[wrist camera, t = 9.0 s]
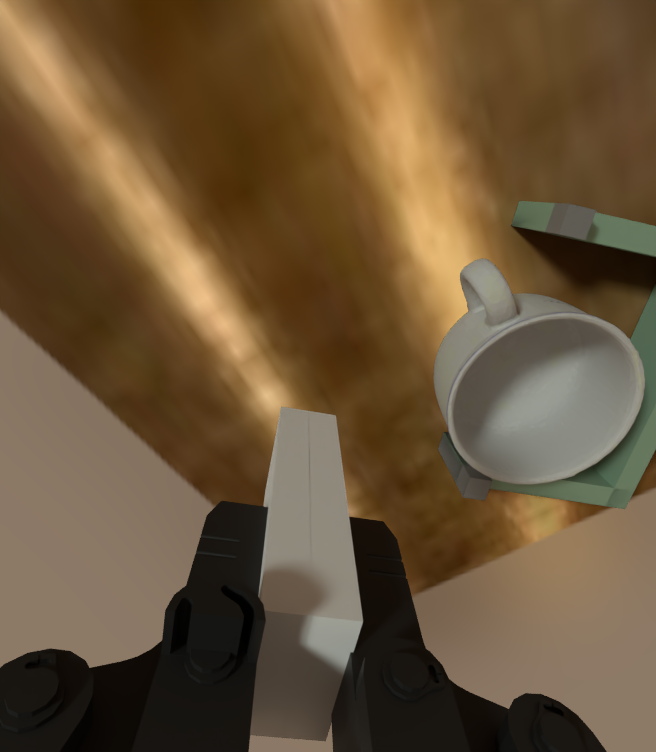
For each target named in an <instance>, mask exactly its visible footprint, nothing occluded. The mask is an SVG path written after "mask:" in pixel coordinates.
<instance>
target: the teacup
mask: <svg viewBox="0 0 656 752" xmlns="http://www.w3.org/2000/svg"><path fill="white" fill-rule="evenodd" d="M460 281H461V285H462V289H463V292H464V295H465V298H466V301H467V307H468V310H469V311H468V313H466V314H465V315H464V316H463V317H462V318H460V319H459V320H458V321H457V322H456V323H455V325H454V326H453V327H452V328H451V329H450V330H449V332H448V333H447V335H446V336H445V338H444V339H443V341H442V343H441V345H440V348H439V350H438V353H437V356H436V361H435V366H434V387H435V392H436V397H437V400H438V403H439V406H440V409H441V412H442V414H443V417H444V419H445V421H446V424H447V426H448V430H449V434H450V436H451V439H452V441H453V444H454V446H455V448H456V449H457V451H458V452H459V454H460V455H461V456H462V457H463V459H464V460H465V461H466V462H467V463H468V464H469V465H470V466H472V467H473V468H474V469H476V470H477V471H479V472H481V473H482V474H484V475H486V476H488V477H490V478H492V479H495V480H498V481H502V482H507V483H512V484H539V483H548V482H553V481H556V480H560V479H564V478H568V477H572V476H574V475H575V474H577V473H579V472H581V471H583V470H585V469H587V468H589V467H590V466H592V465H594V464H596V463H598V462H599V461H600V460H601V459H602V458H603V457H605V456H606V455H607V454H609V453H610V452H612V450H613V449H614V448H615V447H616V446H617V445H618V444H619V443H620V442H621V440H622V439H623V438H624V437H625V436H626V434H627V433H628V432H629V430H630V428H631V426H632V425H633V423H634V421H635V419H636V417H637V415H638V413H639V410H640V408H641V403H642V400H643V396H644V389H645V376H644V368H643V363H642V359H641V358H640V356H639V353H638V351H637V350H636V349H635V347H634V345H633V344H632V342H631V341H630V339H629V338H628V337H626V335H625V334H624V333H623V332H622V331H621V330H620V329H619V328H617V327H616V326H614V325H612V324H610V323H609V322H607V321H605V320H603V319H601V318H598V317H595V316H593V315H589V314H587V313H585V312H583V311H581V310H579V309H577V308H576V307H574V306H572V305H569V304H567V303H565V302H562V301H559V300H557V299H554V298H551V297H548V296H543V295H538V294H512V292H511V290H510V288H509V286H508V283H507V282H506V280H505V278H504V277H503V275H502V273H501V272H500V271H499V269H498V268H497V267H496V266H495V265H494V264H493V263H492V262H490V261H489V260H487V259H479V260H475V261H473V262H472V263H470V264H469V265H467V266H466V267H464V268H463V270H462V271H461V273H460Z"/></svg>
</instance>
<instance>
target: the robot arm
mask: <svg viewBox="0 0 656 752" xmlns="http://www.w3.org/2000/svg"><path fill="white" fill-rule="evenodd" d="M401 560H402V557H401V554H400V550H399V546H398V542H397V539H396V537H395V536H394V535H393V534H392V532H391V531H390V530H389V528H388V527H387V526H386V524H385V523H384V522H383V521H376V520H369V519H362V518H354V517H349V512H348V505H347V497H346V490H345V482H344V475H343V467H342V460H341V452H340V445H339V437H338V430H337V422H336V415H330V414H323V413H317V412H311V411H305V410H299V409H293V408H287V407H281V410H280V416H279V421H278V426H277V432H276V437H275V443H274V448H273V453H272V459H271V464H270V470H269V475H268V480H267V486H266V491H265V499H264V507H263V506H256V505H248V504H241V503H234V502H227V501H221V502H220V503H219V504H218V505H217V506H216V507H215V508H214V509H213V510H212V511H211V512H210V513H209V514H208V515H207V517H206V520H205V524H204V527H203V530H202V534H201V538H200V541H199V544H198V547H197V551H196V555H195V558H194V561H193V564H192V568H191V572H190V575H189V578H188V581H187V585H186V586H185V587H184V588H182V589H181V590H180V591H179V592H177V593H176V594H175V595H174V596H173V598H172V600H171V601H170V603H169V605H168V607H167V608H166V611H165V620H164V629H163V639H162V641H161V642H160V643H158V644H157V645H156V646H155V647H154V648H152V649H151V650H149V651H147V652H145V653H143V654H142V655H140V656H138V657H135V658H132V659H128V660H125V661H122V662H117V663H112V664H107V665H102V666H97V667H92V668H89V666H88V665H87V663H86V661H85V660H84V659H82V658H81V657H79V656H77V655H76V654H74V653H73V652H71V651H65V650H57V649H46V650H41V651H36V652H30V653H27V654H25V655H23V656H20V657H18V658H16V659H14V660H12V661H10V662H8V663H6V664H4V665H3V666H2V667H1V668H0V752H248V750H249V740H250V735H256V736H269V737H281V738H293V739H306V740H318V741H326V738H327V735H328V732H329V729H330V725H331V722H332V734H333V735H332V737H333V752H606V750H605V749H604V747H603V746H602V745H601V743H600V742H599V740H598V739H597V738H596V736H595V735H594V734H593V732H592V731H591V730H590V729H589V728H588V727H587V725H586V724H585V723H584V722H583V721H582V720H581V719H580V718H579V716H578V715H576V714H575V713H574V712H572V711H571V710H570V709H569V708H567V707H566V706H564V705H563V704H562V703H560V702H559V701H556V700H554V699H552V698H549V697H547V696H544V695H542V694H528V693H525V694H523V695H521V696H519V697H518V698H516V699H514V700H513V702H512V704H511V706H510V708H509V709H507V708H505V707H503V706H500V705H498V704H496V703H493V702H491V701H489V700H486V699H484V698H481V697H479V696H477V695H475V694H472V693H470V692H468V691H466V690H464V689H463V688H461V687H459V686H457V685H456V684H454V683H453V682H452V681H451V680H449V678H448V676H447V674H446V672H445V670H444V668H443V666H442V664H441V663H440V662H439V661H438V660H437V659H436V658H435V657H434V656H433V654H432V653H431V652H430V651H428V650H427V649H426V648H425V645H424V643H423V639H422V635H421V631H420V627H419V623H418V619H417V615H416V612H415V608H414V604H413V600H412V596H411V592H410V588H409V585H408V581H407V579H406V573H405V569H404V565H403V562H401Z"/></svg>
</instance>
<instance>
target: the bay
mask: <svg viewBox="0 0 656 752" xmlns="http://www.w3.org/2000/svg"><path fill="white" fill-rule="evenodd" d="M596 211H597V210H594V209H589V208H585V207H581V206H576V205H572V204H561V203H544V202H527V201H519V204H518V207H517V210H516V213H515V216H514V219H513V222H512V225H511V226H515V227H519V228H524V229H528V230H533V231H537V232H542V233H547V234H551V235H556V236H560V237H565V238H569V239H574V240H578V241H583V242H587V243H592V244H596V245H601V246H605V247H610V248H614V249H619V250H623V251H628V252H632V253H637V254H642V255H646V256H651V257H655V258H656V226H652V225H648V224H644V223H639V222H635V221H631V220H626V219H622V218H618V217H613V216H609V215H604V214H600V213H596ZM630 341H631V342H632V344H633V345H634V347H635V349H636V350H637V351H638V353H639V356H640V358H641V359H642V363H643V368H644V376H645V389H644V396H643V400H642V403H641V408H640V410H639V413H638V415H637V417H636V419H635V421H634V423H633V425H632V426H631V428H630V430H629V432H628V433H627V434H626V436H625V437H624V438H623V439H622V440H621V442H620V443H619V444H618V445H617V446H616V447H615V448H614V449H613V450H612V452H610V453H609V454H607V455H606V456H605V457H603V458H602V459H601V460H600V461H599V462H598V463H596V464H594V465H592V466H590V467H589V468H587V469H585V470H583V471H581V472H579V473H577V474H575V475H574V476H572V477H568V478H564V479H560V480H556V481H553V482H548V483H539V484H512V483H507V482H502V481H498V480H495V479H492V478H490V477H488V476H486V475H484V474H482V473H481V472H479V471H477V470H476V469H474V468H473V467H472V466H470V465H469V464H468V463H467V462H466V461H465V460H464V459H463V457H462V456H461V455H460V454H459V452H458V451H457V449H456V448H455V446H454V444H453V441H452V439H451V436H450V434H449V433H447V432H444V433H443V436H442V439H441V442H440V445H439V448H438V450H439V452H440V454H441V456H442V458H443V460H444V462H445V463H446V465H447V467H448V469H449V471H450V473H451V475H452V477H453V479H454V481H455V483H456V485H457V487H458V488H459V490H460V492H461V494H462V496H463V497H465V498H471V499H478V500H485V499H486V497H487V494H488V492H489V489H495V490H501V491H508V492H515V493H521V494H528V495H535V496H542V497H548V498H555V499H562V500H568V501H575V502H582V503H588V504H595V505H602V506H608V507H615V508H622V509H625V508H626V506H627V504H628V502H629V500H630V498H631V496H632V494H633V492H634V491H635V489H636V487H637V485H638V483H639V481H640V479H641V477H642V475H643V473H644V471H645V469H646V467H647V465H648V463H649V461H650V459H651V457H652V455H653V454H654V452H655V450H656V284H655V286H654V288H653V290H652V293H651V295H650V297H649V299H648V302H647V304H646V306H645V308H644V310H643V313H642V315H641V317H640V319H639V322H638V324H637V326H636V328H635V330H634V333H633V335H632V337H631V339H630Z"/></svg>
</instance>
